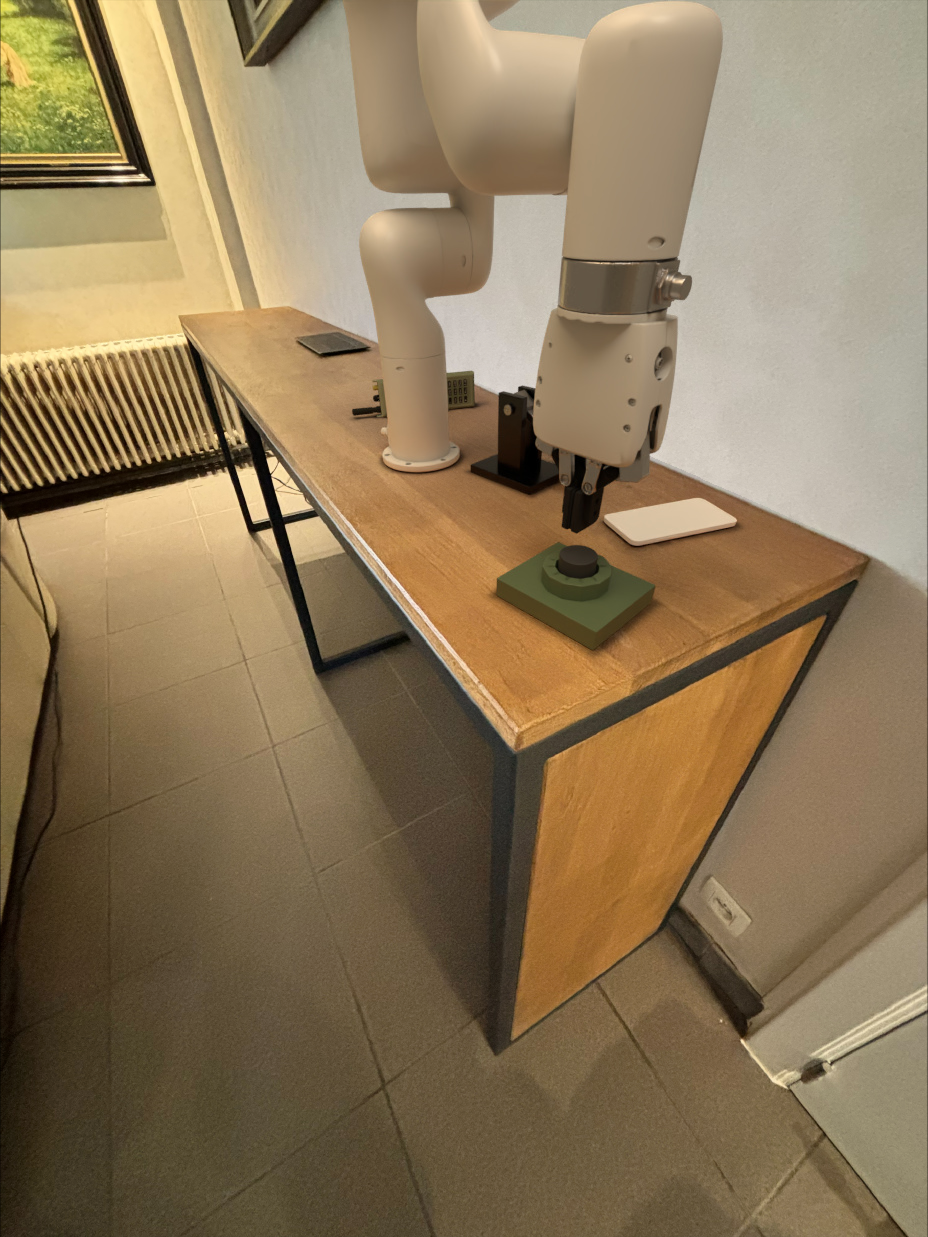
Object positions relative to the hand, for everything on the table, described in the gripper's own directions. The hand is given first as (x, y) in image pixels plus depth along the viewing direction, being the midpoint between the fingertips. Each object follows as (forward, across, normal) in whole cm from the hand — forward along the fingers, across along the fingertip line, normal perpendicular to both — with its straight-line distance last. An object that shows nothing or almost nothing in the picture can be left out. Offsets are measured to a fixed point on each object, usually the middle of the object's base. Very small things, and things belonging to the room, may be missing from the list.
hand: (578, 525), depth 46 cm
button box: (+8, -1, 0) cm, 8 cm away
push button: (+5, -1, 0) cm, 5 cm away
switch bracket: (+9, +24, -20) cm, 32 cm away
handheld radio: (+10, +60, -29) cm, 68 cm away
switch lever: (+3, +20, -20) cm, 29 cm away
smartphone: (+8, 0, -21) cm, 22 cm away
